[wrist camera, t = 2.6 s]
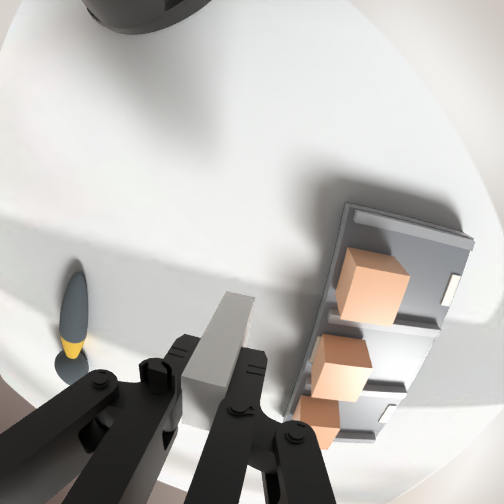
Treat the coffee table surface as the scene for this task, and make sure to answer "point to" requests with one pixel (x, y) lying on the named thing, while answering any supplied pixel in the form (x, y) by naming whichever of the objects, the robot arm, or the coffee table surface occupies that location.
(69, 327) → the paintbrush
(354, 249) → the tab
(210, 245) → the coffee table surface
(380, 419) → the switch bank
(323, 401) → the tan cube
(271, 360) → the coffee table surface
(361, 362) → the peach cube
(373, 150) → the coffee table surface
